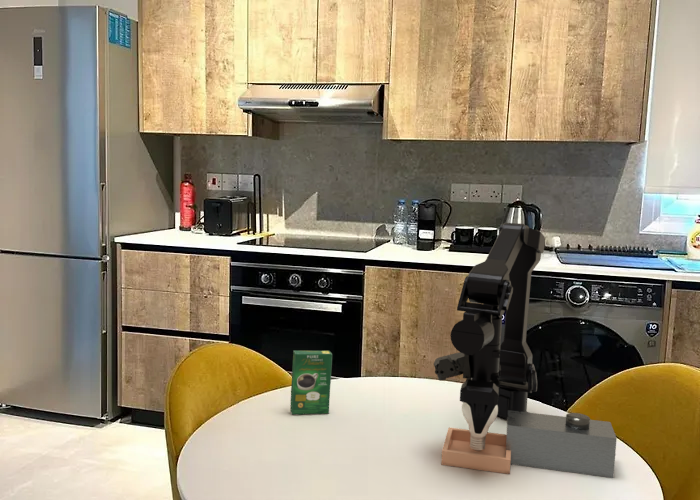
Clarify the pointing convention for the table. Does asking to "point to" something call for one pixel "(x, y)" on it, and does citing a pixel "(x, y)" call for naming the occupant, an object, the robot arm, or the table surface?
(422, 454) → the table surface
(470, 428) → the lightbulb
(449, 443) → the dish
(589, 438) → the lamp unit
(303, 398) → the coffee box
